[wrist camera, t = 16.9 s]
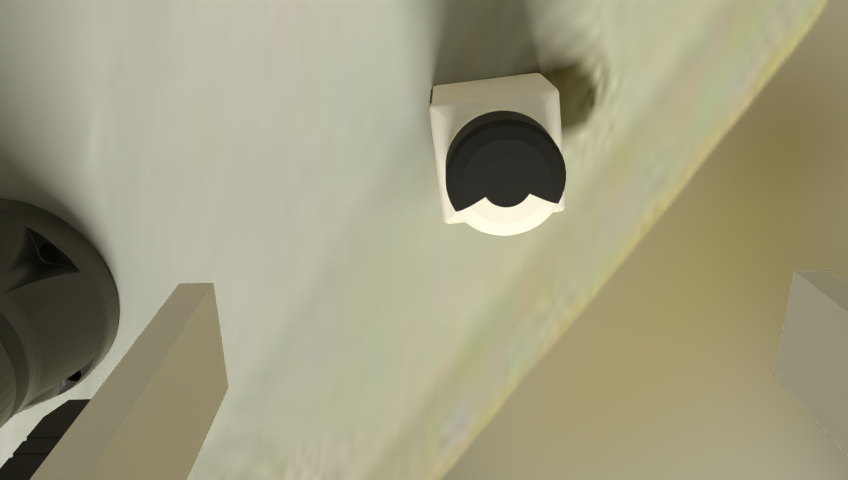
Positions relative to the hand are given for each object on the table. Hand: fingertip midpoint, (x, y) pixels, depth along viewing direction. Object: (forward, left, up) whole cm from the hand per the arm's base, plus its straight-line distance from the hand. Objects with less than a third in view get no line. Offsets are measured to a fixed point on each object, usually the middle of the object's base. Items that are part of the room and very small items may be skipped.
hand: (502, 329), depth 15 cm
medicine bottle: (+2, -2, -31) cm, 31 cm away
